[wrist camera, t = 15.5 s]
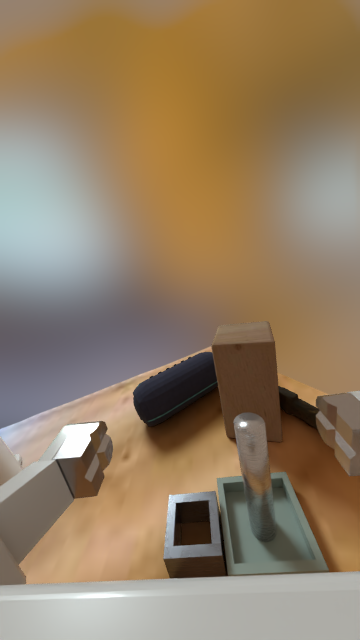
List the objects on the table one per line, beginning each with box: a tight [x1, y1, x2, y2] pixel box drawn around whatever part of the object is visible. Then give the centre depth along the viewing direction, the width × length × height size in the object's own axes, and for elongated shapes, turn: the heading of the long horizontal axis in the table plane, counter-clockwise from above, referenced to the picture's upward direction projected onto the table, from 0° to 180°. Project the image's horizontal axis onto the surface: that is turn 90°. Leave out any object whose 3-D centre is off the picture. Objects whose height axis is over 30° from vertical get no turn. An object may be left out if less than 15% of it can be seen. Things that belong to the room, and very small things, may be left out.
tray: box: [217, 472, 329, 576], centre depth 26 cm, size 10×10×2 cm
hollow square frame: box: [164, 491, 227, 579], centre depth 26 cm, size 6×6×4 cm
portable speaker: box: [133, 352, 218, 426], centre depth 53 cm, size 25×10×10 cm, turn 124°
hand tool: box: [278, 386, 320, 429], centre depth 40 cm, size 19×4×5 cm, turn 25°
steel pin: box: [234, 412, 277, 542], centre depth 24 cm, size 3×3×16 cm
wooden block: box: [211, 321, 282, 442], centre depth 41 cm, size 10×10×20 cm
